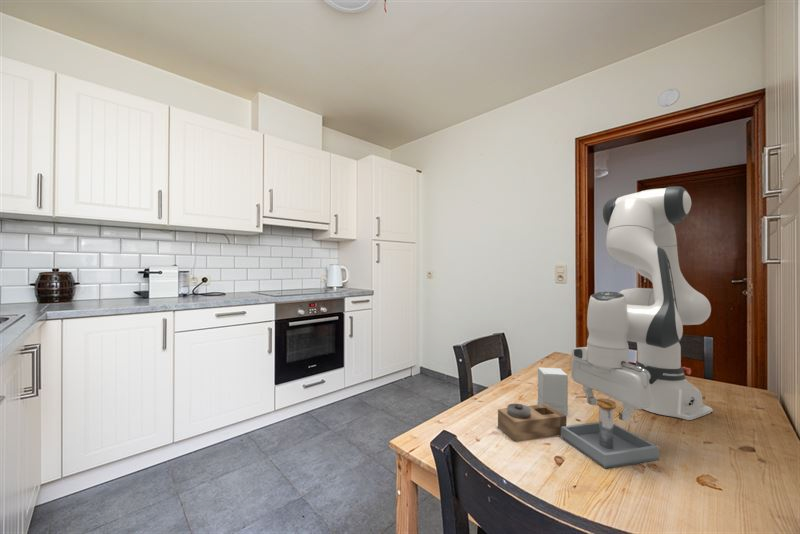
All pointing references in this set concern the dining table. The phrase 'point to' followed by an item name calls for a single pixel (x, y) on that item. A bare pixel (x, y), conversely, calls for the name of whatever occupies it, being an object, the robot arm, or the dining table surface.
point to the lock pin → (606, 422)
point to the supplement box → (553, 388)
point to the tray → (624, 442)
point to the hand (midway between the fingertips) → (607, 411)
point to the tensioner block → (530, 421)
